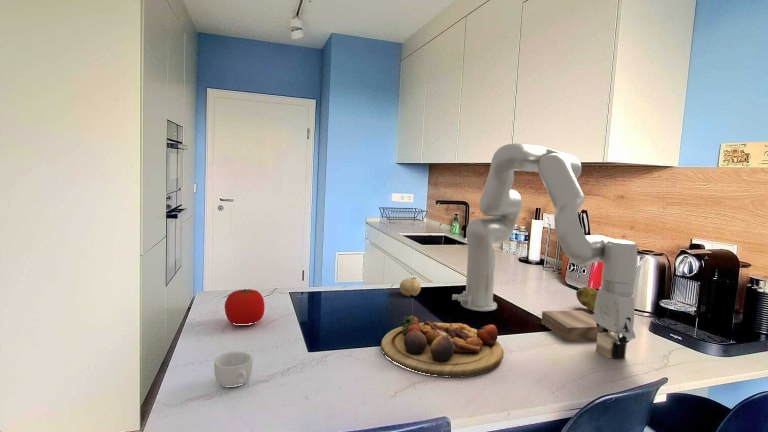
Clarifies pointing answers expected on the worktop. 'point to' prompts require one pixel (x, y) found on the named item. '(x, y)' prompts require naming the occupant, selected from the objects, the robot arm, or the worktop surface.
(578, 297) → the green pickle
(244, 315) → the tomato
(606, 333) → the maple cube
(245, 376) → the teacup
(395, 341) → the wooden plate with food
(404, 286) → the cream round lump
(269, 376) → the worktop surface
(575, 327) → the walnut base block
